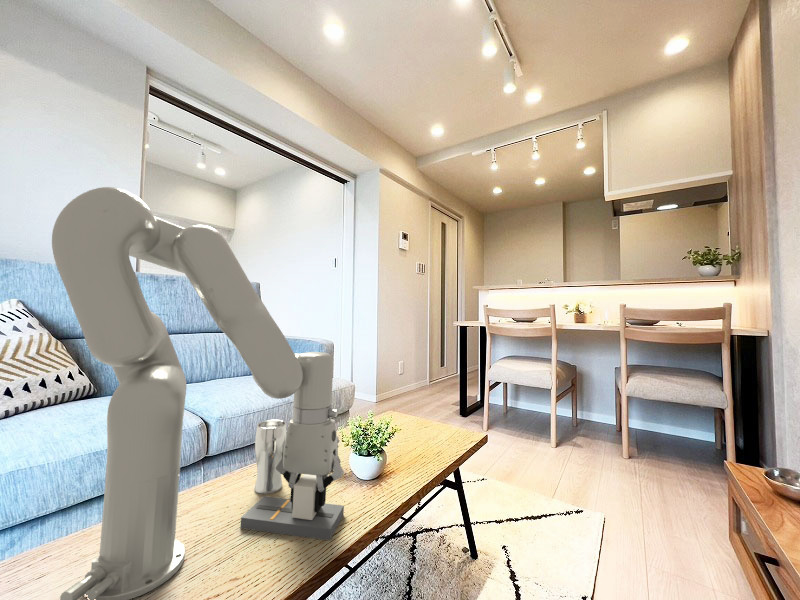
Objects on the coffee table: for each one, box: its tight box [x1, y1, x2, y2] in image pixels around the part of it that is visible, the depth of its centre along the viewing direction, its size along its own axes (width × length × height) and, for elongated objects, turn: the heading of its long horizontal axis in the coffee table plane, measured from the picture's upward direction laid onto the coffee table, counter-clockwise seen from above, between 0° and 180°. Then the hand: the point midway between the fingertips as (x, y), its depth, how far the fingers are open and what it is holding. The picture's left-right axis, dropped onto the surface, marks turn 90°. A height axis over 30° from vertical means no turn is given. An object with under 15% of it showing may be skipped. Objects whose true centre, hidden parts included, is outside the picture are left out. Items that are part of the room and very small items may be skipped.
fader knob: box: [292, 474, 318, 520], centre depth 67 cm, size 5×4×6 cm
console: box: [240, 495, 345, 541], centre depth 67 cm, size 8×18×2 cm, turn 82°
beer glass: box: [254, 419, 287, 495], centre depth 80 cm, size 7×7×15 cm
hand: (307, 506), depth 67 cm, fingers closed on fader knob, 4 cm apart
